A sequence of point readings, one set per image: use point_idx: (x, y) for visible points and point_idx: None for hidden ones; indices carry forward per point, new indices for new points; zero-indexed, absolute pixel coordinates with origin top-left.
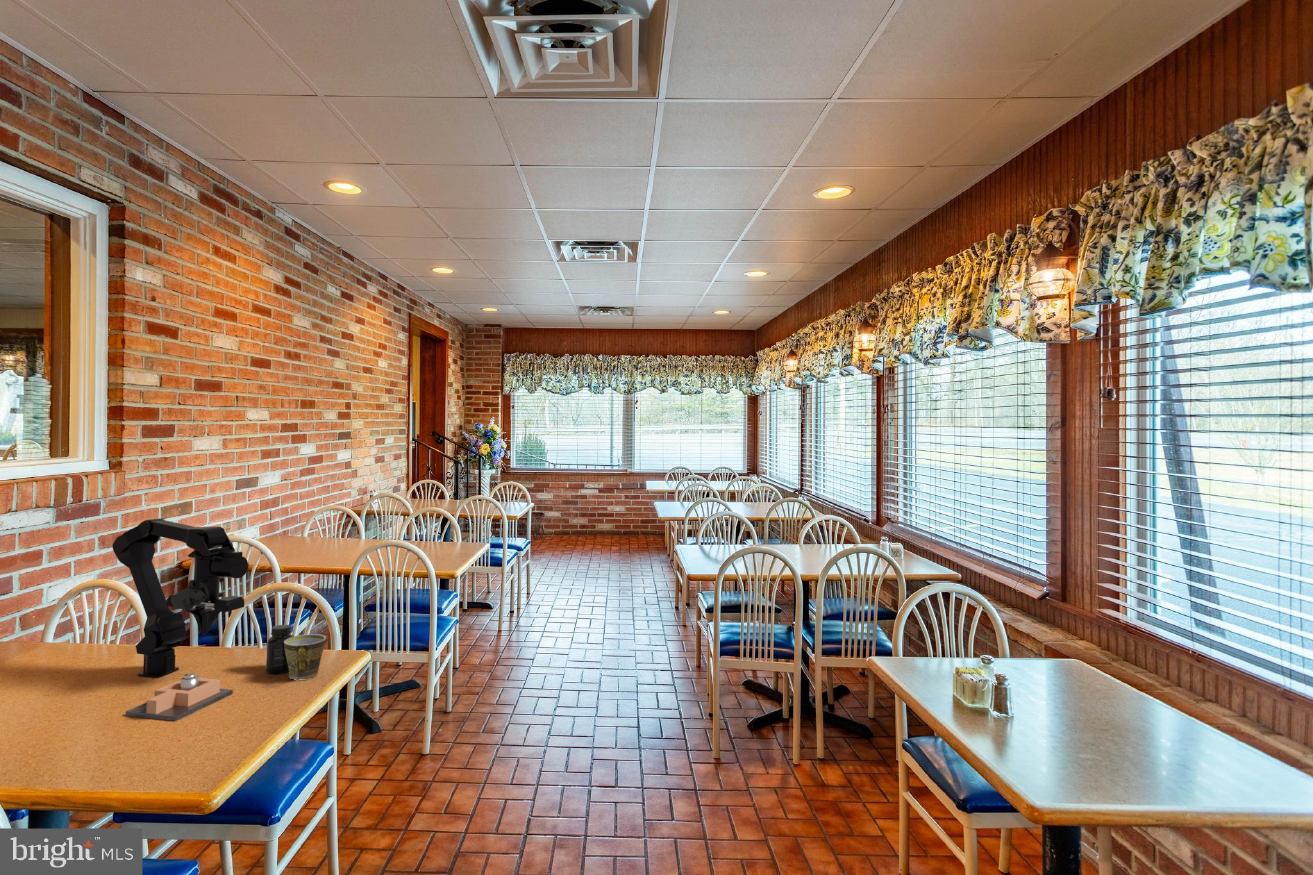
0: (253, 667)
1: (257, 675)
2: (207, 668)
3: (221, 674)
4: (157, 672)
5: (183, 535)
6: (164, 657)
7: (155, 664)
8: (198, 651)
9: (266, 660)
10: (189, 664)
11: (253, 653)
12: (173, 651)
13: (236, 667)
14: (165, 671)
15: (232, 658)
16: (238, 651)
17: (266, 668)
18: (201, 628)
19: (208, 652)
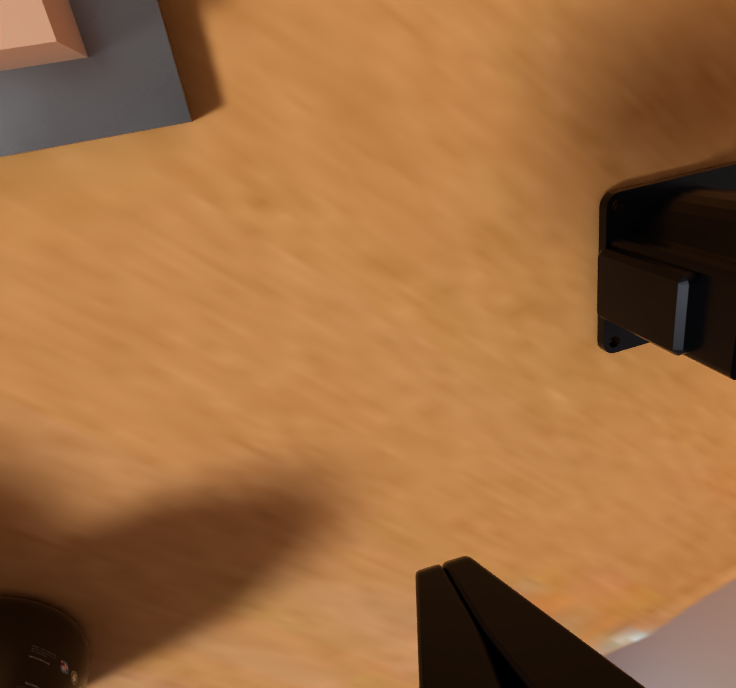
0: (219, 587)
1: (24, 539)
2: (463, 440)
3: (280, 429)
4: (646, 218)
5: None
6: (703, 271)
7: (706, 217)
8: (713, 538)
9: (4, 674)
10: (612, 423)
11: None
12: (714, 359)
13: (317, 535)
14: (609, 249)
15: None
16: None
17: (13, 617)
18: (493, 639)
19: (660, 557)
